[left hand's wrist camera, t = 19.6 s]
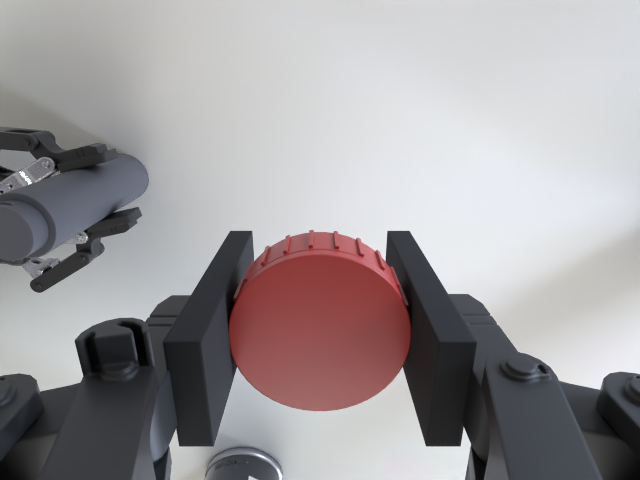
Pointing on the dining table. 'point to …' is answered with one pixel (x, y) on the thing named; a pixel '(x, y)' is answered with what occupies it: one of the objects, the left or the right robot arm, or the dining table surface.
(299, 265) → the lid
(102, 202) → the jar
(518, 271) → the dining table surface
